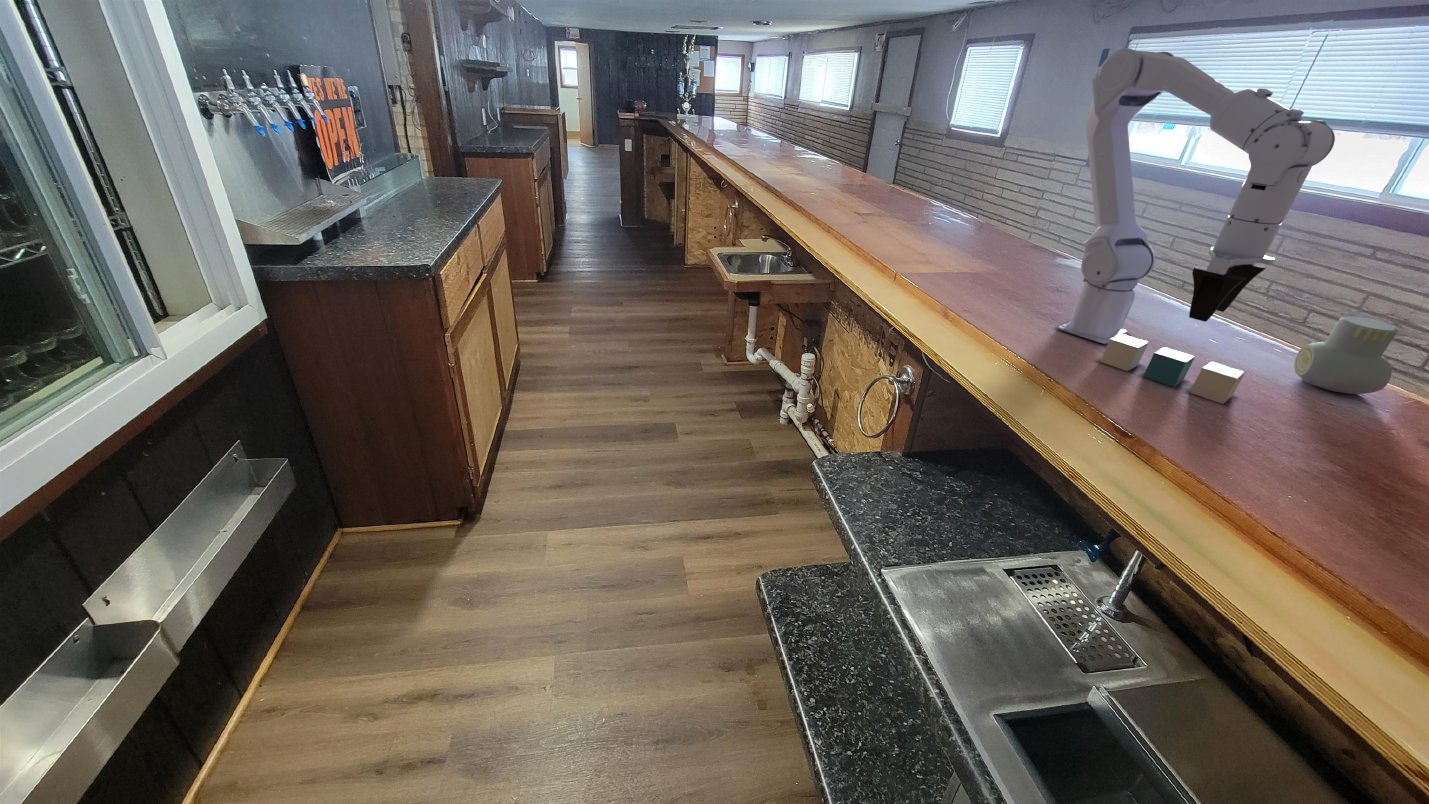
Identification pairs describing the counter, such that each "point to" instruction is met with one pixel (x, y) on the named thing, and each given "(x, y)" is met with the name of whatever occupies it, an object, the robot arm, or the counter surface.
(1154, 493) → the counter surface
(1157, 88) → the robot arm
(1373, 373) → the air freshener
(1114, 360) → the line block
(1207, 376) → the line block
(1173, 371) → the teal block
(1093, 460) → the counter surface
